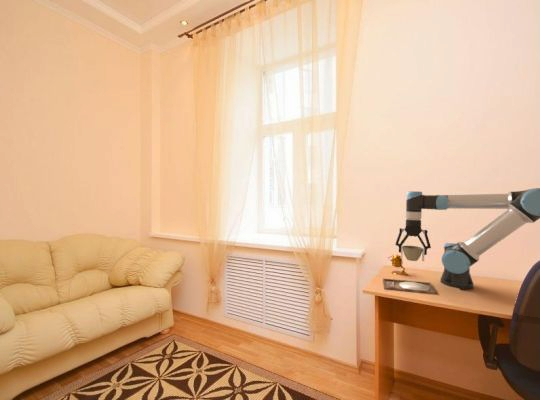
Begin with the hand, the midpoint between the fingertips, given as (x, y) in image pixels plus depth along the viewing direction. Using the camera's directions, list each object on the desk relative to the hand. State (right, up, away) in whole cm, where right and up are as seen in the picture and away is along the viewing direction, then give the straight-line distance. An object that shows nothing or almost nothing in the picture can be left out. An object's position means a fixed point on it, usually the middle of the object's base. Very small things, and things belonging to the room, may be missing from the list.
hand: (412, 259), depth 153 cm
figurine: (+2, -14, +22) cm, 26 cm away
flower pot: (0, -1, 0) cm, 1 cm away
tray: (-5, -14, -5) cm, 16 cm away
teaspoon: (-12, -13, -2) cm, 18 cm away
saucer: (-2, -13, -6) cm, 15 cm away
